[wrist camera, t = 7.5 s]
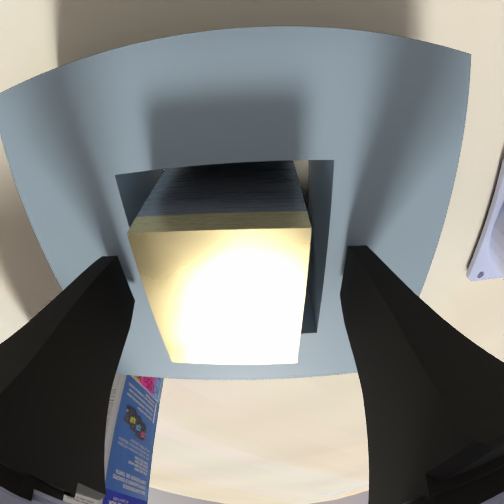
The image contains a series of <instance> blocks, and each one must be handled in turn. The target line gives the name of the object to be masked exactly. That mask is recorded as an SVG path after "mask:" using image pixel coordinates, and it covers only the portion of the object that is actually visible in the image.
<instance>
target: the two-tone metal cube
mask: <svg viewBox="0 0 504 504" xmlns="http://www.w3.org/2000/svg"><path fill="white" fill-rule="evenodd" d="M311 231H312V227H311V224H310V220H309V216H308V212H307V209H306V205H305V202H304V198H303V194H302V191H301V187H300V184H299V180H298V177H297V174H296V170H295V167H294V163H293V160H284V161H258V162H239V163H223V164H210V165H197V166H186V167H176V168H167V169H165V171H164V173H163V174H162V176H161V177H160V179H159V180H158V182H157V184H156V185H155V187H154V188H153V190H152V192H151V193H150V195H149V196H148V198H147V200H146V201H145V203H144V205H143V206H142V208H141V210H140V211H139V213H138V215H137V216H136V218H135V220H134V222H133V223H132V225H131V227H130V228H129V230H128V232H127V236H128V239H129V243H130V246H131V249H132V253H133V256H134V259H135V262H136V265H137V268H138V272H139V275H140V278H141V281H142V284H143V287H144V290H145V292H146V295H147V298H148V301H149V304H150V307H151V309H152V312H153V315H154V318H155V320H156V323H157V326H158V328H159V331H160V333H161V336H162V339H163V341H164V344H165V346H166V349H167V351H168V354H169V356H170V359H171V361H172V362H177V363H200V364H282V363H297V356H298V349H299V342H300V334H301V326H302V318H303V310H304V301H305V292H306V283H307V273H308V263H309V253H310V242H311Z"/></svg>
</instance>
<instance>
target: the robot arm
mask: <svg viewBox="0 0 504 504" xmlns="http://www.w3.org/2000/svg"><path fill="white" fill-rule="evenodd" d="M466 277H467V278H468V280H469V281H478V280H486V279H494V278H503V280H504V159H503V161H502V165H501V169H500V173H499V177H498V181H497V185H496V189H495V192H494V196H493V199H492V203H491V206H490V209H489V213H488V216H487V219H486V222H485V225H484V228H483V231H482V234H481V236H480V239H479V242H478V245H477V247H476V250H475V253H474V255H473V258H472V260H471V263H470V265H469V268H468V270H467V273H466ZM340 300H341V307H342V313H343V319H344V324H345V328H346V331H347V335H348V338H349V342H350V346H351V349H352V353H353V356H354V360H355V364H356V367H357V371H358V375H359V379H360V383H361V388H362V393H363V399H364V407H365V415H366V425H367V436H368V452H369V503H368V504H504V362H502V361H500V360H499V359H497V358H496V357H494V356H493V355H491V354H489V353H488V352H486V351H485V350H484V349H482V348H481V347H479V346H478V345H476V344H475V343H474V342H472V341H471V340H469V339H468V338H467V337H465V336H464V335H463V334H461V333H460V332H459V331H458V330H456V329H455V328H454V327H453V326H451V325H450V324H449V323H448V322H446V321H445V320H444V319H443V318H441V317H440V316H439V315H438V314H437V313H436V312H435V311H433V310H432V309H431V308H430V307H429V306H428V305H427V304H426V303H425V302H424V301H422V300H421V299H420V298H419V297H418V296H417V295H416V294H415V293H414V292H413V291H412V290H411V289H410V288H409V287H408V286H407V285H406V284H405V283H404V282H403V281H402V280H401V279H400V278H399V277H398V276H397V275H396V274H395V273H394V272H393V271H392V270H391V269H390V268H389V267H388V266H387V265H386V264H385V263H384V262H383V261H382V260H381V259H380V258H379V257H378V256H377V255H376V254H375V253H374V252H373V251H372V250H371V249H370V248H369V247H368V246H367V245H361V246H347V253H346V260H345V266H344V272H343V278H342V284H341V290H340ZM134 304H135V299H134V297H133V294H132V292H131V290H130V287H129V285H128V282H127V279H126V277H125V274H124V272H123V269H122V267H121V264H120V261H119V259H118V256H102V257H100V258H99V259H98V260H96V261H95V262H94V263H93V264H91V265H90V266H89V267H88V268H87V269H86V270H85V271H83V272H82V273H81V274H80V275H79V276H78V277H77V278H76V279H75V280H74V281H73V282H72V283H71V284H69V285H68V286H67V287H66V288H65V289H64V290H63V291H62V292H61V293H60V294H59V295H58V296H57V297H56V298H55V299H53V300H52V301H51V302H50V303H49V304H48V305H47V306H46V307H45V308H44V309H42V310H41V311H40V312H39V313H38V314H37V315H36V316H35V317H34V318H33V319H31V320H30V321H29V322H28V323H27V324H26V325H24V326H23V327H22V328H21V329H19V330H18V331H17V332H16V333H14V334H13V335H12V336H11V337H9V338H8V339H7V340H5V341H4V342H2V343H1V344H0V504H70V503H67V502H64V501H63V498H64V495H66V496H69V497H72V498H74V497H75V495H76V493H77V494H80V495H83V496H86V497H89V498H93V499H96V500H100V499H102V498H104V497H105V496H106V488H105V469H104V455H105V434H106V422H107V414H108V407H109V400H110V394H111V390H112V385H113V381H114V378H115V375H116V371H117V368H118V365H119V361H120V358H121V355H122V352H123V349H124V346H125V342H126V339H127V336H128V333H129V330H130V326H131V321H132V316H133V310H134Z"/></svg>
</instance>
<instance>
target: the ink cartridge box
mask: <svg viewBox="0 0 504 504" xmlns="http://www.w3.org/2000/svg"><path fill="white" fill-rule="evenodd" d="M163 379H164V378H159V377H145V376H133V375H123V374H116V375H115V378H114V381H113V385H112V390H111V394H110V400H109V407H108V414H107V422H106V434H105V455H104V469H105V488H106V496H105V497H104V498H102V499H100V500H96V499H93V498H89V497H86V496H83V495H80V494H77V493H76V495H75V497H74V498H72V497H69V496H66V495H64V498H63V501H64V502H67V503H70V504H147V501H148V489H149V480H150V470H151V461H152V453H153V445H154V438H155V431H156V424H157V418H158V411H159V404H160V397H161V392H162V386H163Z"/></svg>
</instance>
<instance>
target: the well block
mask: <svg viewBox="0 0 504 504" xmlns="http://www.w3.org/2000/svg"><path fill="white" fill-rule="evenodd" d="M470 67H471V54H469V53H466V52H462V51H459V50H455V49H452V48H448V47H445V46H441V45H437V44H433V43H429V42H424V41H420V40H415V39H410V38H405V37H400V36H394V35H388V34H382V33H375V32H368V31H360V30H351V29H340V28H326V27H304V26H267V27H245V28H231V29H220V30H211V31H203V32H195V33H188V34H182V35H176V36H170V37H165V38H159V39H154V40H150V41H145V42H141V43H136V44H132V45H128V46H124V47H120V48H116V49H113V50H109V51H106V52H102V53H99V54H96V55H92V56H89V57H86V58H83V59H80V60H77V61H74V62H71V63H69V64H66V65H63V66H60V67H58V68H55V69H53V70H50V71H47V72H45V73H43V74H40V75H38V76H35V77H33V78H31V79H29V80H26V81H24V82H22V83H20V84H18V85H15V86H13V87H11V88H9V89H7V90H5V91H3V92H1V93H0V135H1V139H2V142H3V146H4V149H5V153H6V156H7V160H8V163H9V166H10V169H11V172H12V175H13V178H14V181H15V184H16V187H17V190H18V193H19V195H20V198H21V201H22V203H23V206H24V208H25V211H26V214H27V216H28V218H29V221H30V223H31V226H32V228H33V230H34V233H35V235H36V237H37V240H38V242H39V244H40V246H41V248H42V251H43V253H44V255H45V257H46V259H47V261H48V263H49V265H50V267H51V269H52V271H53V273H54V275H55V277H56V279H57V281H58V283H59V285H60V287H61V289H62V290H64V289H65V288H66V287H67V286H68V285H69V284H71V283H72V282H73V281H74V280H75V279H76V278H77V277H78V276H79V275H80V274H81V273H82V272H83V271H85V270H86V269H87V268H88V267H89V266H90V265H91V264H93V263H94V262H95V261H96V260H98V259H99V258H100V257H102V256H118V259H119V261H120V264H121V267H122V269H123V272H124V274H125V277H126V279H127V282H128V285H129V287H130V290H131V292H132V294H133V297H134V299H135V304H134V310H133V316H132V321H131V326H130V330H129V333H128V336H127V339H126V342H125V346H124V349H123V352H122V355H121V358H120V361H119V365H118V368H117V371H116V374H123V375H133V376H145V377H159V378H176V379H202V380H257V379H284V378H301V377H315V376H327V375H337V374H347V373H356V372H358V371H357V367H356V364H355V360H354V356H353V353H352V349H351V346H350V342H349V338H348V335H347V331H346V328H345V324H344V319H343V313H342V307H341V300H340V290H341V284H342V278H343V272H344V266H345V260H346V253H347V246H361V245H367V246H368V247H369V248H370V249H371V250H372V251H373V252H374V253H375V254H376V255H377V256H378V257H379V258H380V259H381V260H382V261H383V262H384V263H385V264H386V265H387V266H388V267H389V268H390V269H391V270H392V271H393V272H394V273H395V274H396V275H397V276H398V277H399V278H400V279H401V280H402V281H403V282H404V283H405V284H406V285H407V286H408V287H409V288H410V289H411V290H412V291H413V292H414V293H415V294H416V295H417V296H418V297H419V296H420V293H421V290H422V288H423V285H424V282H425V280H426V277H427V274H428V271H429V268H430V266H431V263H432V260H433V257H434V254H435V251H436V247H437V244H438V241H439V238H440V234H441V231H442V228H443V224H444V221H445V217H446V213H447V210H448V206H449V202H450V198H451V194H452V190H453V185H454V181H455V176H456V172H457V167H458V162H459V157H460V151H461V146H462V140H463V134H464V127H465V120H466V112H467V104H468V94H469V82H470ZM284 160H309V186H308V216H309V220H310V224H311V227H312V231H311V242H310V253H309V263H308V273H307V283H306V292H305V301H304V310H303V318H302V326H301V334H300V342H299V349H298V356H297V363H282V364H200V363H177V362H172V361H171V359H170V356H169V354H168V351H167V349H166V346H165V344H164V341H163V339H162V336H161V333H160V331H159V328H158V326H157V323H156V320H155V318H154V315H153V312H152V309H151V307H150V304H149V301H148V298H147V295H146V292H145V290H144V287H143V284H142V281H141V278H140V275H139V272H138V268H137V265H136V262H135V259H134V256H133V253H132V249H131V246H130V243H129V239H128V236H127V232H128V230H129V228H130V227H131V225H132V223H133V222H134V220H135V218H136V216H137V215H138V213H139V211H140V210H141V208H142V206H143V205H144V203H145V201H146V200H147V198H148V196H149V195H150V193H151V192H152V190H153V188H154V187H155V185H156V184H157V182H158V180H159V179H160V177H161V176H162V174H163V172H162V169H167V168H176V167H186V166H197V165H210V164H223V163H239V162H258V161H284Z"/></svg>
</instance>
